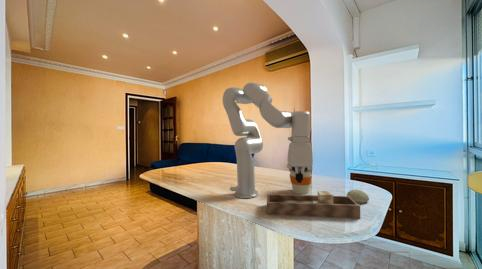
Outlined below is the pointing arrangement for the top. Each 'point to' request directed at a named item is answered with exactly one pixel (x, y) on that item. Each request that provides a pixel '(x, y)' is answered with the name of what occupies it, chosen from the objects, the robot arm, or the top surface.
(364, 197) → the sea urchin shell
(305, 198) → the tray
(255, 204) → the top surface
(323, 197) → the maple block
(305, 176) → the reusable coffee cup
